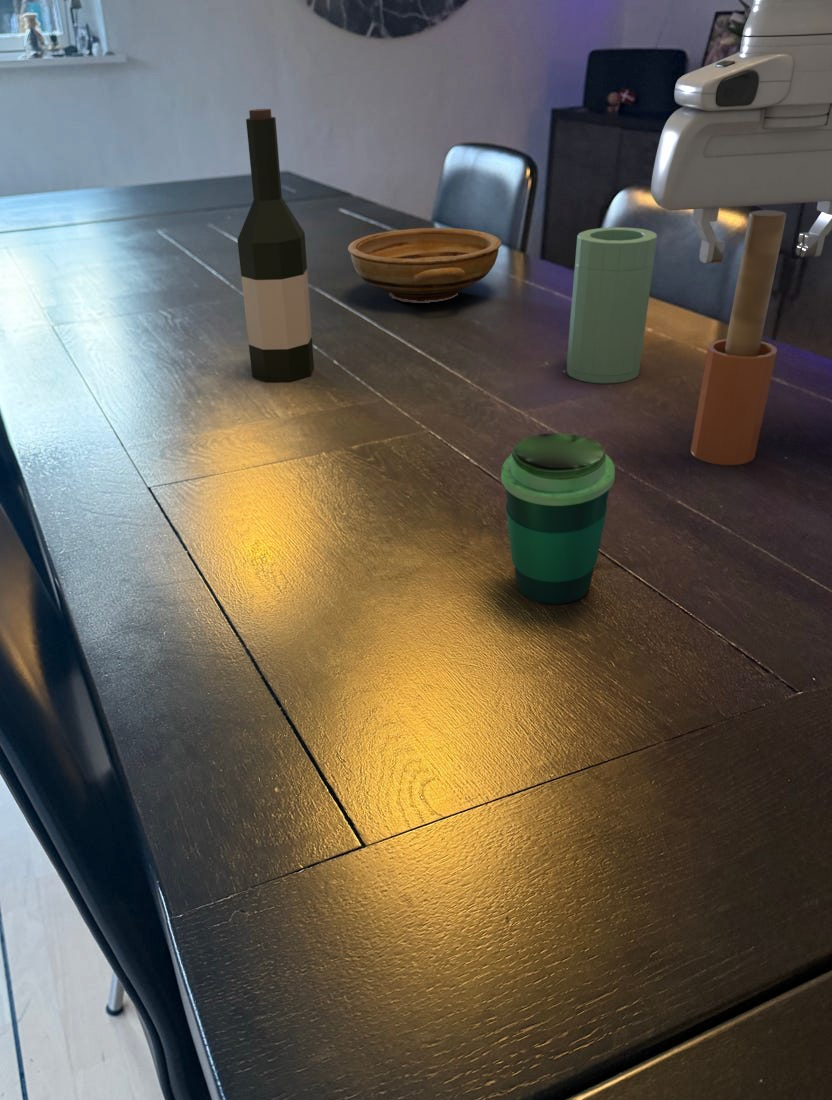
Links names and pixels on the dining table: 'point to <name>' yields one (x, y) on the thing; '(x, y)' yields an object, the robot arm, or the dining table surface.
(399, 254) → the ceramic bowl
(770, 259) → the wooden rod
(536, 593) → the cup
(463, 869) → the dining table surface
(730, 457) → the cup
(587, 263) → the mint green tube
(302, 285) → the wine bottle
